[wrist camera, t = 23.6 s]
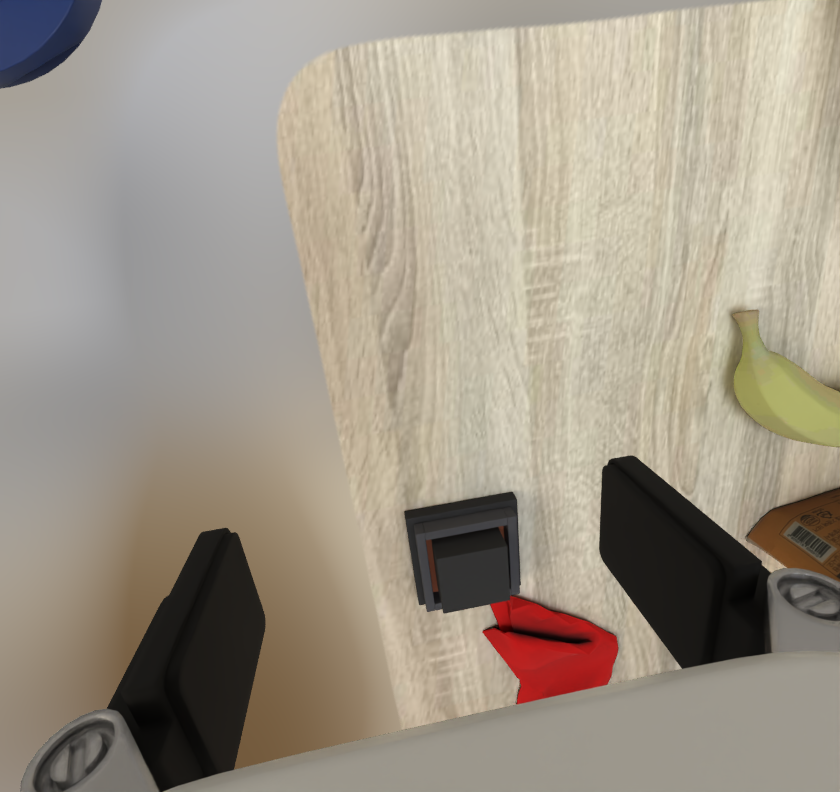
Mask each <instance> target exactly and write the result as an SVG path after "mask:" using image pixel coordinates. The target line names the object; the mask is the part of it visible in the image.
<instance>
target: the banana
mask: <svg viewBox="0 0 840 792" xmlns="http://www.w3.org/2000/svg"><path fill="white" fill-rule="evenodd" d="M732 315H733V317H734V318H735V320H736V321H737V323H738V325H739V328H740V330H741V333H742V337H743V348H742V356H741V359H740V362H739V364H738V366H737V368H736V371H735V375H734V390H735V394H736V397H737V399H738V401H739V403H740V405H741V407H742V408H743V409H744V410H745V412H746V413H747V414H748V415H749V416H750V417H752V418H753V419H754V420H755V421H756V422H757V423H759V424H760V425H762V426H763V427H765V428H766V429H768V430H770V431H772V432H774V433H776V434H778V435H781V436H783V437H786V438H789V439H792V440H796V441H801V442H806V443H812V444H818V445H824V446H831V447H840V392H839V391H836V390H834V389H832V388H829V387H827V386H825V385H823V384H821V383H820V382H818V381H817V380H816V379H814V378H813V377H812V376H810V375H809V374H808V373H807V372H805V371H804V370H803V369H802V368H800V367H799V366H797V365H796V364H795V363H793V362H791V361H790V360H788V359H787V358H785V357H783V356H781V355H780V354H777V353H775V352H771V351H768V350H767V349H766V348H765V346H764V344H763V342H762V340H761V338H760V335H759V329H758V316H759V310H749V311H743V312H737V313H733V314H732Z"/></svg>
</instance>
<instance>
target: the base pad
mask: <svg viewBox="0 0 840 792" xmlns="http://www.w3.org/2000/svg"><path fill="white" fill-rule="evenodd" d="M404 513H405V519H406V525H407V532H408V538H409V544H410V551H411V557H412V564H413V570H414V576H415V583H416V589H417V595H418V601H419V605H424V604H426V609H427V612H430V611H435V610H440V609H443V608H442V604H441V600H440V595H439V591H438V586H437V579H436V572H435V564H434V557H433V549H432V542H431V539H436V538H442V537H447V536H452V535H458V534H463V533H468V532H474V531H479V530H484V529H490V528H495V527H499V530H500V532H501V534H502V536H503V538H504V540H505V542H506V544H507V549H508V567H509V585H510V595H515V594H520V587H519V585H521V582H520V559H519V536H518V513H517V499H516V497H515V495H514V494H513V492H510V493H504V494H499V495H493V496H488V497H482V498H477V499H471V500H466V501H460V502H455V503H449V504H443V505H438V506H432V507H427V508H421V509H416V510H410V511H405V512H404Z"/></svg>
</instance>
